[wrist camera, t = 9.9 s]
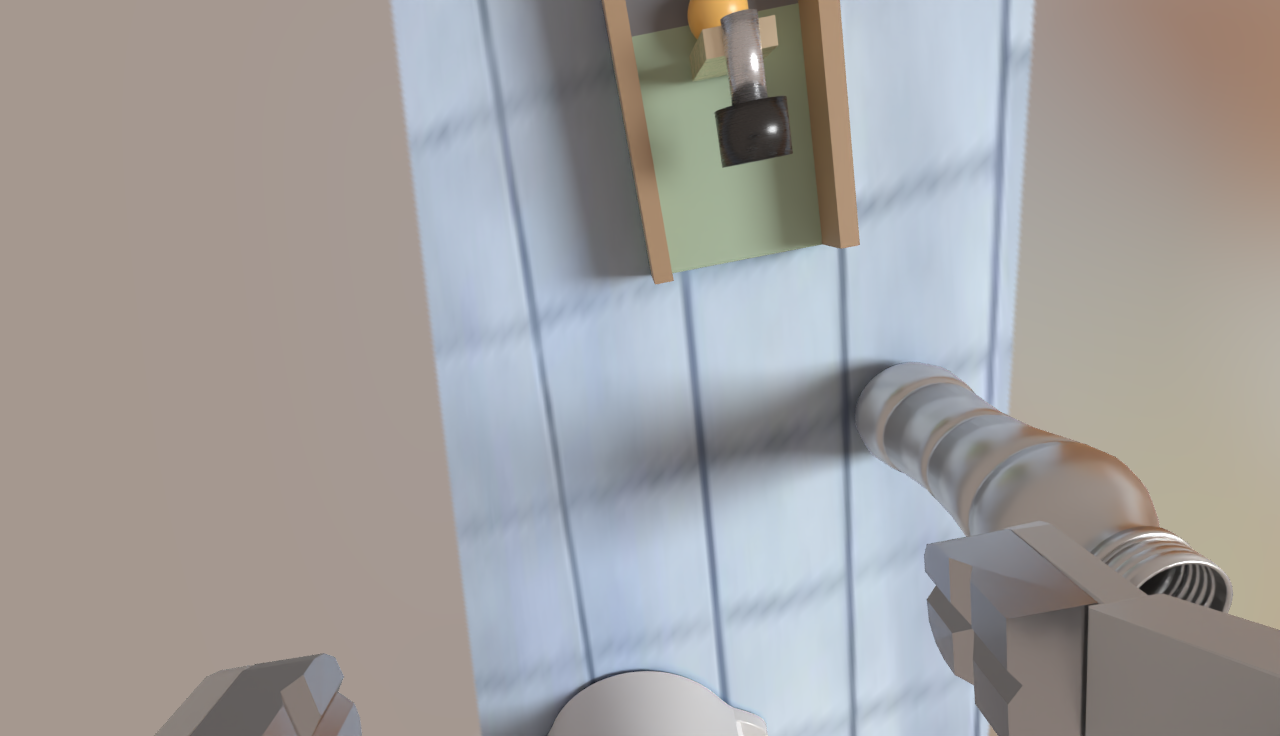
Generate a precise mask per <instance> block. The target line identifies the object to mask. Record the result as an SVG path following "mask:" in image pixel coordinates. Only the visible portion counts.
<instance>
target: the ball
mask: <svg viewBox="0 0 1280 736" xmlns="http://www.w3.org/2000/svg"><path fill="white" fill-rule="evenodd" d="M746 9H748V2H747V0H690V2H689V6H688V14H687V16H688V23H689V27H690V30H691V32H692V33H693V35H694V37H695V38H696V39H698V37H699V35H700V33H701V31H702V29H707V28H712V27H717V26H721V22H720V19H721V18H723V17H724V16H726V15H728V14H731V13H733V12H737V11H741V10H746Z"/></svg>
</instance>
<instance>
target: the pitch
mask: <svg viewBox="0 0 1280 736" xmlns="http://www.w3.org/2000/svg"><path fill="white" fill-rule="evenodd" d="M601 2H602V7H603V13H604V18H605V24H606V29H607V35H608V40H609V46H610V51H611V56H612V62H613V67H614V73H615V78H616V84H617V89H618V95H619V100H620V106H621V111H622V117H623V122H624V128H625V133H626V139H627V144H628V150H629V155H630V161H631V166H632V172H633V177H634V183H635V188H636V194H637V199H638V205H639V210H640V216H641V221H642V227H643V232H644V238H645V243H646V249H647V254H648V260H649V265H650V271H651V276H652V278H653V280H654V283H655V284H660V283H665V282H670V281H674V280H673V275H672V273H676V272H681V271H686V270H692V269H697V268H702V267H707V266H712V265H717V264H723V263H728V262H733V261H738V260H743V259H749V258H754V257H759V256H764V255H769V254H774V253H780V252H785V251H790V250H795V249H800V248H806V247H811V246H816V245H821V244H824V245H828V246H832V247H836V248H847V247H852V246H857V245H860V242H859V230H858V218H857V205H856V193H855V181H854V169H853V157H852V144H851V132H850V120H849V108H848V96H847V84H846V71H845V59H844V47H843V35H842V23H841V10H840V0H747V2H748V9H756V10H758V18H762V17H767V16H772V15H775V19H776V28H777V38H778V46H777V47H776V48H775V49H774V50H773V51H772V52H771V53H770V54H769V55H768V56H767V57H765V58H764V59H763V61H764V69H765V78H766V86H767V95H768V97H775V96H787V104H788V113H789V122H790V132H791V141H792V150H793V154H790V155H786V156H781V157H776V158H772V159H767V160H762V161H757V162H752V163H747V164H741V165H736V166H731V167H725V168H722V163H721V156H720V149H719V142H718V135H717V128H716V121H715V114H714V112H716V111H717V110H720V109H723V108H726V107H729V106H732V104H731V97H730V89H729V82H728V75H724V76H719V77H713V78H708V79H703V80H698V81H692V74H691V67H690V61H689V56H690V54H691V51H692V49H693V47H694V45H695V43H696V41H697V39H696V38H695V37H694V35H693V33H692V32H691V30H690V27H689V23H688V16H687V14H688V6H689V2H690V0H601Z"/></svg>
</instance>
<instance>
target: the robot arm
mask: <svg viewBox="0 0 1280 736" xmlns="http://www.w3.org/2000/svg"><path fill="white" fill-rule="evenodd" d="M924 562H925V572H926V573H927V574H928V576H929V577H930V578H931V579H932V581H933V582H934V583H935V584H936V586H935V588H934V589H933V591H932V593H931V594H930V596H929V597H928V599H927V606H928V616H929V623H930V626H931V629H932V632H933V636H934V639H935V642H936V644H937V646H938V648H939V650H940V652H941V654H942V656H943V658H944V660H945V661H946V663H947V664H948V666H949V667H950V669H951V670H952V672H953V673H954V674H955V675H956V676H958V677H960V678H962V679H964V680H965V681H967V682H969V683H971V684H973V685H974V691H975V704H976V706H977V707H978V708H979V710H980V711H981V712H982V714H983V715H984V717H985V718H986V719H987V721H988V722H989V724H990V725H991V726H992V728H993V729H994V731H995V732H996V733H997V735H998V736H1280V630H1278V629H1274V628H1271V627H1268V626H1265V625H1262V624H1259V623H1255V622H1252V621H1249V620H1246V619H1243V618H1239V617H1236V616H1233V615H1230V614H1227V613H1224V612H1220V611H1217V610H1214V609H1211V608H1208V607H1204V606H1201V605H1198V604H1195V603H1192V602H1188V601H1185V600H1182V599H1179V598H1176V597H1172V596H1169V595H1166V594H1163V593H1160V594H1154V595H1147V594H1146V593H1144V592H1143V591H1142V590H1140V589H1139V588H1138V587H1136V586H1135V585H1133V584H1132V583H1131V582H1129V581H1128V580H1127V579H1125V578H1124V577H1123V576H1121V575H1120V574H1119V573H1117V572H1116V571H1114V570H1113V569H1112V568H1110V567H1109V566H1108V565H1106V564H1105V563H1104V562H1102V561H1101V560H1100V559H1098V558H1097V557H1095V556H1094V555H1093V554H1091V553H1090V552H1089V551H1087V550H1086V549H1085V548H1083V547H1082V546H1081V545H1079V544H1078V543H1077V542H1075V541H1074V540H1072V539H1071V538H1070V537H1068V536H1067V535H1066V534H1064V533H1063V532H1062V531H1060V530H1059V529H1058V528H1056V527H1055V526H1053V525H1052V524H1050V523H1047V522H1043V521H1036V522H1031V523H1026V524H1022V525H1017V526H1012V527H1008V528H1003V529H1002V530H999V531H994V532H989V533H984V534H978V535H973V536H968V537H962V538H957V539H952V540H947V541H941V542H936V543H931V544H927V545H926V549H925V554H924ZM343 677H344V676H343V674H342V672H341V670H340V667H339V665H338V663H337V661H336V659H335V657H333V656H330V655H327V654H324V653H323V654H317V655H311V656H304V657H299V658H292V659H286V660H279V661H273V662H267V663H260V664H255V665H253V666H243V667H238V668H232V669H226V670H221V671H218V672H216V673H214V674H212V675H210V676H207V677H206V678H205V679H204V680H203V681H202V682H201V683H200V684H199V686H198V687H197V688H196V689H195V690H194V691H193V692H192V693H191V695H190V696H189V697H188V698H187V699H186V700H185V701H184V703H183V704H182V705H181V706H180V707H179V708H178V709H177V710H176V712H175V713H174V714H173V715H172V716H171V717H170V718H169V719H168V721H167V722H166V723H165V724H164V725H163V726H162V727H161V729H160V730H159V731H158V732H157V733H156V734H155V735H154V736H362V733H361V724H360V717H359V714H358V712H357V709H356V706H355V704H354V703H353V702H352V701H350V700H349V699H348V698H346V697H345V696H343V695H342V694H340V693H339V692H338V690H339V687H340V685H341V683H342V680H343ZM547 736H768V733H767V726H766V723H765V721H764V720H763V719H762V718H761V717H759V716H757V715H755V714H752V713H750V712H747V711H744V710H740V709H737V708H733V707H731V706H730V705H728V704H727V703H725V702H724V701H723V700H721V699H720V698H719V697H718V696H717V695H715V694H714V693H713V692H712V691H710V690H709V689H708V688H706V687H704V686H703V685H701V684H699V683H697V682H695V681H693V680H690V679H688V678H685V677H682V676H679V675H675V674H670V673H664V672H655V671H640V672H630V673H624V674H619V675H615V676H612V677H609V678H606V679H603V680H601V681H598V682H596V683H594V684H592V685H590V686H589V687H587V688H585V689H584V690H582V691H581V692H579V693H578V694H577V695H575V696H574V697H573V698H572V699H571V700H570V701H569V702H568V703H567V704H566V705H565V706H564V708H563V709H562V710H561V711H560V713H559V714H558V716H557V718H556V719H555V721H554V723H553V726H552V728H551V730H550V732H549V734H548V735H547Z"/></svg>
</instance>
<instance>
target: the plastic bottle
mask: <svg viewBox="0 0 1280 736" xmlns="http://www.w3.org/2000/svg"><path fill="white" fill-rule="evenodd" d="M855 423H856V427H857V431H858V432H859V434H860V436H861V438H862V440H863V442H864V444H865V445H866V447H867V449H868V450H869V451H870V452H871V453H872V455H873V456H875V457H876V458H878V459H879V460H880V461H882V462H884V463H885V464H887V465H888V466H890V467H892V468H893V469H896V470H898V471H900V472H903V473H905V474H906V475H907V476H909V477H910V478H911V479H913V480H914V481H916V482H917V483H918V484H920V485H921V486H922V487H924V488H925V489H927V490H928V491H929V492H930V494H931V495H932V496H933V497H934V498H935V499H936V500H937V501H938V502H939V503H940V504H941V505H942V506H943V507H944V509H945V510H946V511H947V512H948V513H949V514H950V515H951V516H952V518H953V519H954V520H955V522H956V523H957V524H958V526H959V527H960V529H961V530H962V531H963V533H964V534H965V536H966V537H968V536H973V535H978V534H984V533H989V532H994V531H999V530H1002V529H1003V528H1008V527H1012V526H1017V525H1022V524H1026V523H1031V522H1036V521H1043V522H1047V523H1050V524H1052V525H1053V526H1055V527H1056V528H1058V529H1059V530H1060V531H1062V532H1063V533H1064V534H1066V535H1067V536H1068V537H1070V538H1071V539H1072V540H1074V541H1075V542H1077V543H1078V544H1079V545H1081V546H1082V547H1083V548H1085V549H1086V550H1087V551H1089V552H1090V553H1091V554H1093V555H1094V556H1095V557H1097V558H1098V559H1100V560H1101V561H1102V562H1104V563H1105V564H1106V565H1108V566H1109V567H1110V568H1112V569H1113V570H1114V571H1116V572H1117V573H1119V574H1120V575H1121V576H1123V577H1124V578H1125V579H1127V580H1128V581H1129V582H1131V583H1132V584H1133V585H1135V586H1136V587H1138V588H1139V589H1140V590H1142V591H1143V592H1144V593H1146V594H1147V595H1154V594H1160V593H1163V594H1166V595H1169V596H1172V597H1176V598H1179V599H1182V600H1185V601H1188V602H1192V603H1195V604H1198V605H1201V606H1204V607H1208V608H1211V609H1214V610H1217V611H1220V612H1224V613H1227V614H1228V611H1229V609H1230V606H1231V603H1232V597H1233V590H1232V585H1231V582H1230V579H1229V577H1228V576H1227V575H1226V573H1225V572H1224V571H1223V570H1222V569H1220V567H1219V566H1217V565H1216V564H1215V563H1213V562H1212V561H1211V560H1209V559H1207V558H1206V557H1204V556H1203V555H1201V554H1199V553H1198V552H1196V551H1195V550H1193V549H1192V548H1191V546H1190V545H1189V544H1188V543H1187V542H1186V541H1184V540H1183V539H1182V538H1180V537H1178V536H1177V535H1175V534H1174V533H1172V532H1170V531H1168V530H1166V529H1163V528H1160V527H1159V521H1158V517H1157V514H1156V511H1155V508H1154V505H1153V502H1152V500H1151V497H1150V495H1149V492H1148V490H1147V488H1146V487H1145V486H1144V485H1143V483H1142V482H1141V480H1140V479H1139V478H1138V477H1137V476H1136V475H1135V474H1134V473H1133V472H1132V471H1131V470H1130V469H1129V468H1128V466H1126V465H1125V464H1124V463H1123V462H1122V461H1120V460H1119V459H1118V458H1116V457H1115V456H1112V455H1110V454H1107V453H1106V452H1103V451H1101V450H1098V449H1096V448H1093V447H1091V446H1089V445H1087V444H1083V443H1080V442H1077V441H1074V440H1071V439H1068V438H1065V437H1062V436H1059V435H1055V434H1053V433H1049V432H1046V431H1043V430H1040V429H1037V428H1034V427H1032V426H1030V425H1028V424H1025V423H1023V422H1021V421H1019V420H1017V419H1015V418H1012V417H1010V416H1008V415H1006V414H1004V413H1002V412H1000V411H999V410H997V409H996V408H994V407H993V406H991V405H990V404H989V403H987V402H986V401H984V400H983V399H982V398H980V397H979V396H977V395H976V394H975V393H974V391H973V390H972V389H971V388H970V387H969V386H968V385H967V384H966V383H965V382H963V381H962V380H961V379H960V378H958V377H957V376H956V375H955V374H953V373H952V372H951V371H949V370H947V369H944V368H942V367H939V366H934V365H930V364H925V363H920V362H907V363H901V364H897V365H894V366H892V367H889V368H887V369H885V370H884V371H882V372H880V373H879V374H878V375H876V376H875V377H874V378H873V379H872V380H871V381H870V382H869V383H868V384H867V385H866V387H865V388H864V390H863V391H862V393H861V395H860V397H859V399H858V402H857V405H856V411H855Z"/></svg>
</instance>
